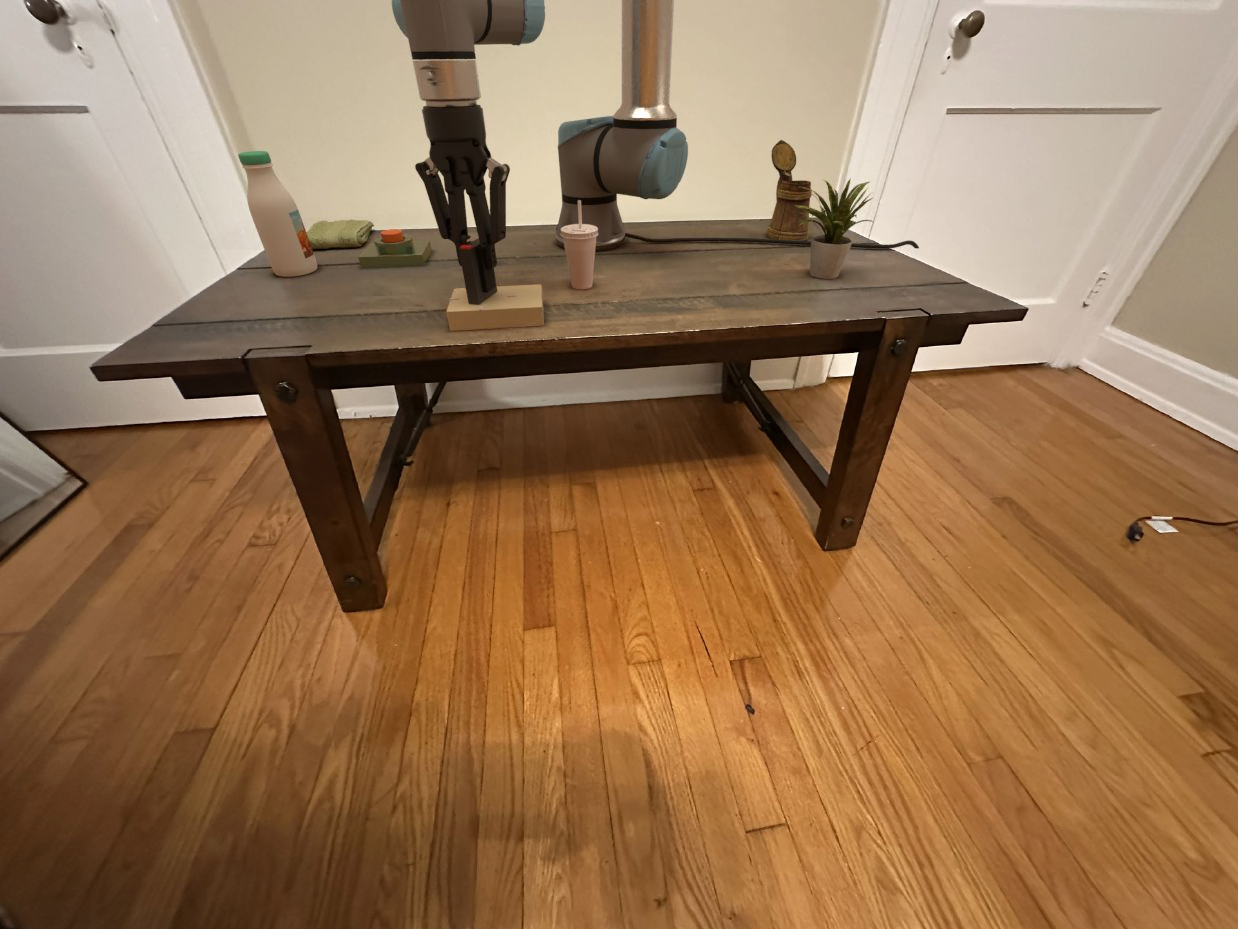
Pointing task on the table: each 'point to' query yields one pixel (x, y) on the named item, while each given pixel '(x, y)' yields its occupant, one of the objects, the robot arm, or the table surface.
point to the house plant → (833, 230)
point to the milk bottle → (276, 218)
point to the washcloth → (339, 234)
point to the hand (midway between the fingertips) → (481, 288)
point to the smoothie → (580, 251)
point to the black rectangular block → (473, 274)
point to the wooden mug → (788, 198)
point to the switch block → (395, 253)
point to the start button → (392, 235)
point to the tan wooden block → (497, 309)
